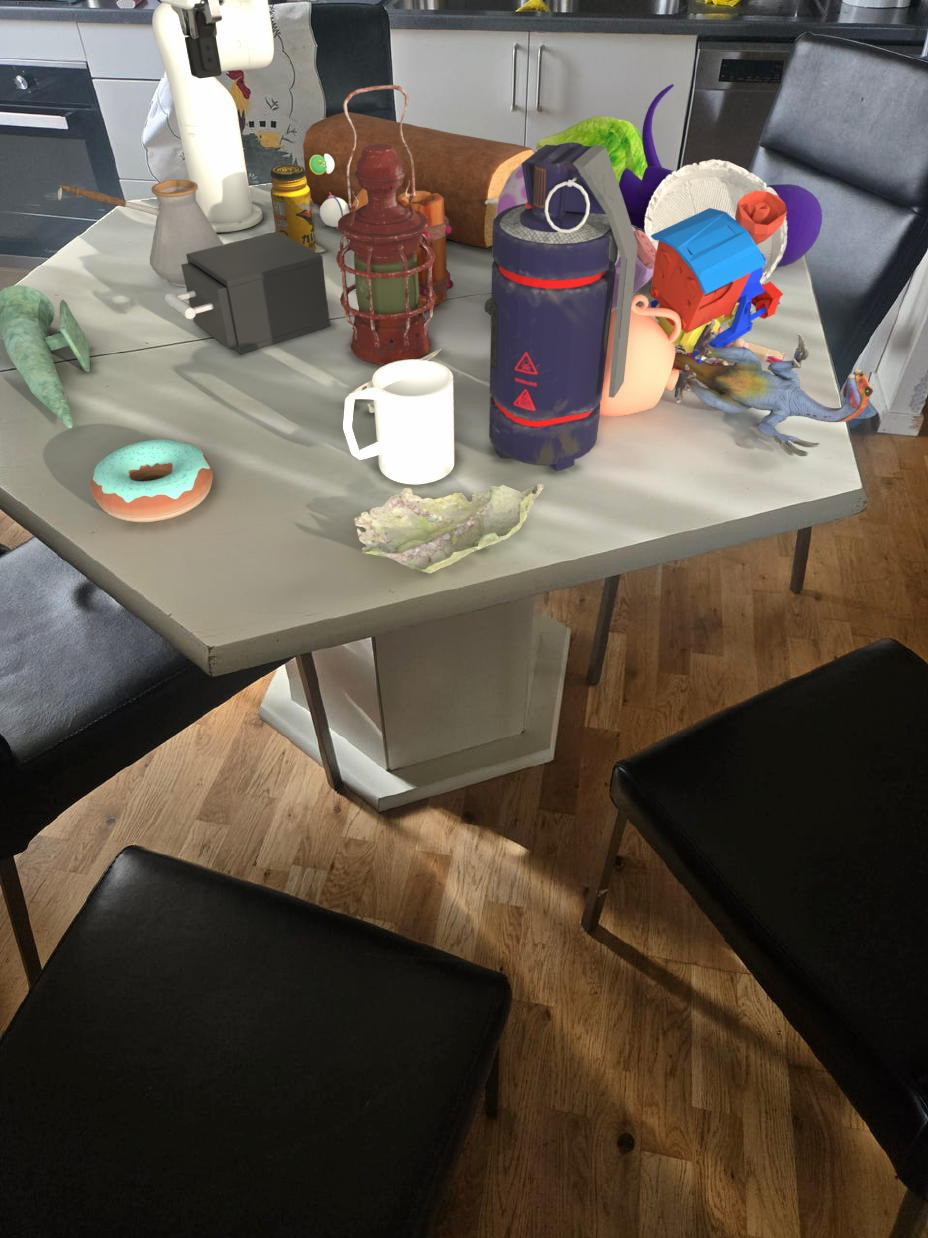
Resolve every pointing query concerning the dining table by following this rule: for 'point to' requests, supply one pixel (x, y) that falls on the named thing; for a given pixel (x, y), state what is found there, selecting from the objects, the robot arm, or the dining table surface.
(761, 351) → the toy
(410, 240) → the lantern
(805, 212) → the toy
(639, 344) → the sugar bowl
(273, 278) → the cabinet
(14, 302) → the decorative horn
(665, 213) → the food container
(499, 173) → the bread
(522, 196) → the toy
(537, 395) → the canister
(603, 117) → the lettuce
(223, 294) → the drawer
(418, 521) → the cabbage leaf
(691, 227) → the toy train
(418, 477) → the cup
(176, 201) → the coffee pot
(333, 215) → the toy
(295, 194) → the condiment
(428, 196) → the mug
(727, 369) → the toy dinosaur
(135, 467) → the donut
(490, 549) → the dining table surface
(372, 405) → the jawbone
